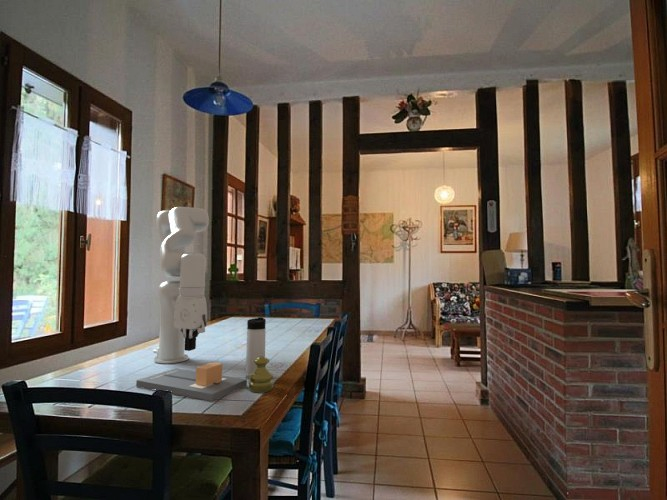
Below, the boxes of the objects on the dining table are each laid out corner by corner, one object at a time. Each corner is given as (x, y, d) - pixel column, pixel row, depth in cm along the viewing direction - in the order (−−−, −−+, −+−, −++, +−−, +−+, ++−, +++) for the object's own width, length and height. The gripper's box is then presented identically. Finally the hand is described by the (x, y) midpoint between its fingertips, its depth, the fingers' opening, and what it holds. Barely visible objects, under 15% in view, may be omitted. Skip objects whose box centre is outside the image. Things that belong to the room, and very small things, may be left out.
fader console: (136, 386, 121) (136, 379, 121) (176, 373, 136) (176, 367, 136) (211, 401, 109) (212, 393, 109) (246, 385, 123) (246, 378, 123)
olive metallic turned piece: (259, 384, 125) (260, 353, 125) (277, 388, 121) (278, 355, 122) (243, 390, 119) (244, 357, 119) (262, 394, 115) (262, 360, 115)
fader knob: (195, 384, 117) (196, 367, 117) (211, 378, 123) (212, 362, 124) (206, 385, 115) (206, 368, 116) (221, 379, 122) (222, 363, 122)
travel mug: (268, 375, 135) (269, 317, 136) (258, 380, 129) (260, 320, 129) (252, 373, 137) (253, 316, 138) (242, 378, 131) (243, 319, 132)
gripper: (165, 291, 124) (163, 349, 123) (201, 295, 117) (199, 355, 117) (183, 289, 130) (181, 344, 130) (218, 293, 124) (216, 350, 124)
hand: (190, 349), depth 124 cm, fingers closed
